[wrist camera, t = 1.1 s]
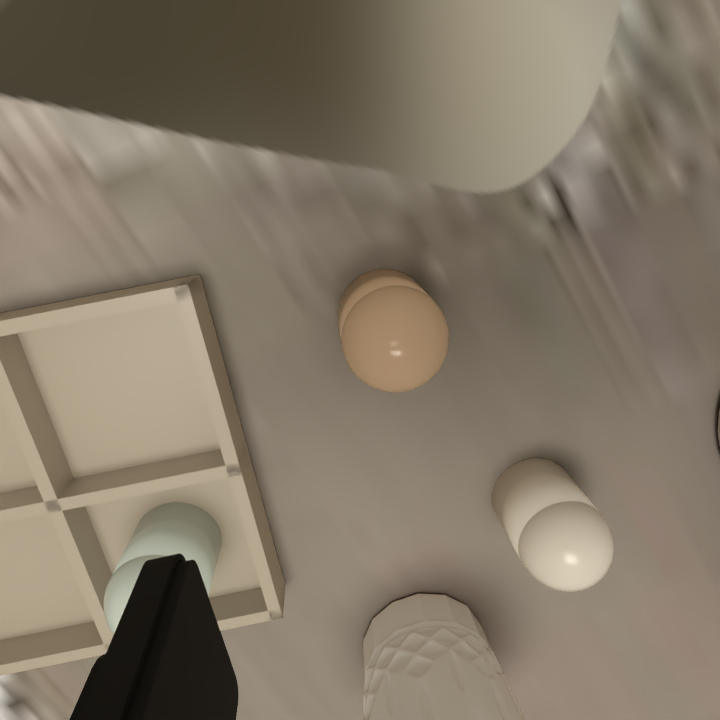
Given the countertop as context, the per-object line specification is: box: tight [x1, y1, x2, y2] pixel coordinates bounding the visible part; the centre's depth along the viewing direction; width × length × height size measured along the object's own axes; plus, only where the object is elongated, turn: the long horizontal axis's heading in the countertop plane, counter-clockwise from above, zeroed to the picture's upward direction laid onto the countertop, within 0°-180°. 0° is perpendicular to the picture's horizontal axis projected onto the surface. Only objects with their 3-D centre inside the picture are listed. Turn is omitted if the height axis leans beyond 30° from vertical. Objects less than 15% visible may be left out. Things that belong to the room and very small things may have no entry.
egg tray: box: [0, 274, 285, 676], centre depth 26 cm, size 17×17×2 cm
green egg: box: [104, 502, 222, 635], centre depth 25 cm, size 4×4×6 cm
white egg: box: [492, 458, 614, 592], centre depth 27 cm, size 4×4×6 cm
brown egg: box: [338, 269, 449, 392], centre depth 23 cm, size 4×4×6 cm
